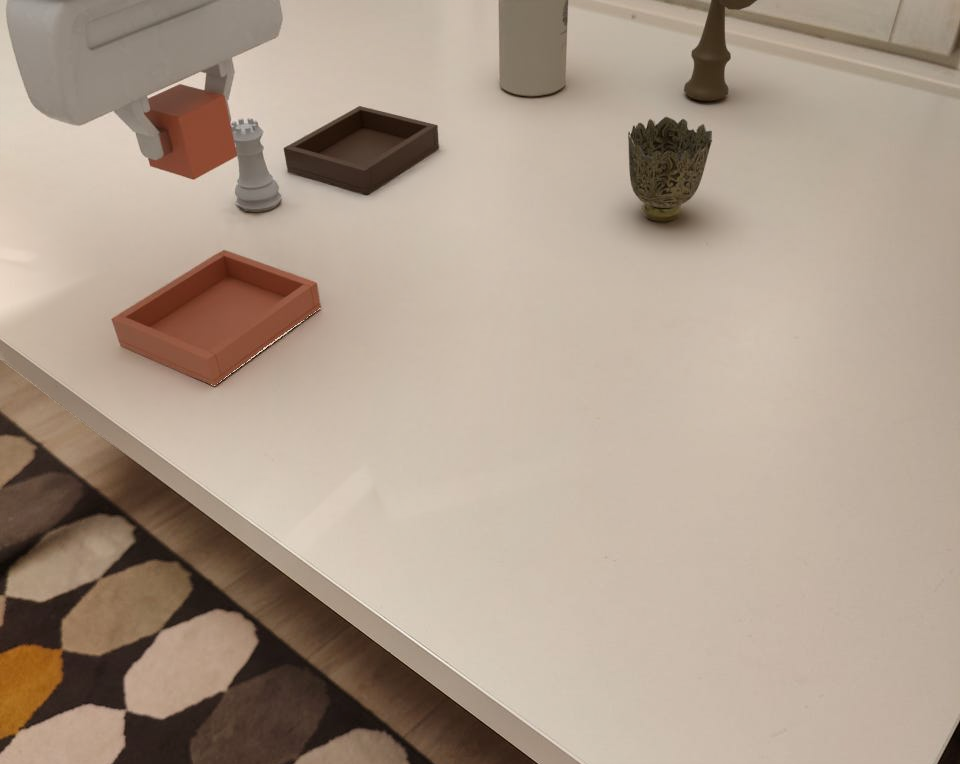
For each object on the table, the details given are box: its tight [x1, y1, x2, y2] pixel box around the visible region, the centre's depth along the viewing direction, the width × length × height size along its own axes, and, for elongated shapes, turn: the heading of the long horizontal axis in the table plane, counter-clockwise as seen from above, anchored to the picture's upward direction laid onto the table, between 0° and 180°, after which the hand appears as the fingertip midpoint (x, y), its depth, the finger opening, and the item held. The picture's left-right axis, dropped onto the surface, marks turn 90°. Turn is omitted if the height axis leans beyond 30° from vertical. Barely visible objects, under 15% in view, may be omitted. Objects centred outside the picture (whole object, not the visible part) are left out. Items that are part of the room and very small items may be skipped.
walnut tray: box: [283, 105, 440, 196], centre depth 100 cm, size 13×11×3 cm
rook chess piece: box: [230, 117, 282, 213], centre depth 91 cm, size 4×4×8 cm
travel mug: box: [498, 0, 569, 98], centre depth 108 cm, size 8×8×18 cm
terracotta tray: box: [110, 249, 322, 387], centre depth 77 cm, size 13×11×3 cm
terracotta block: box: [144, 83, 238, 180], centre depth 68 cm, size 4×4×4 cm
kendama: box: [683, 0, 758, 102], centre depth 104 cm, size 6×10×20 cm, turn 18°
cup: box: [627, 116, 713, 223], centre depth 87 cm, size 8×7×8 cm
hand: (188, 140), depth 68 cm, fingers closed on terracotta block, 4 cm apart
